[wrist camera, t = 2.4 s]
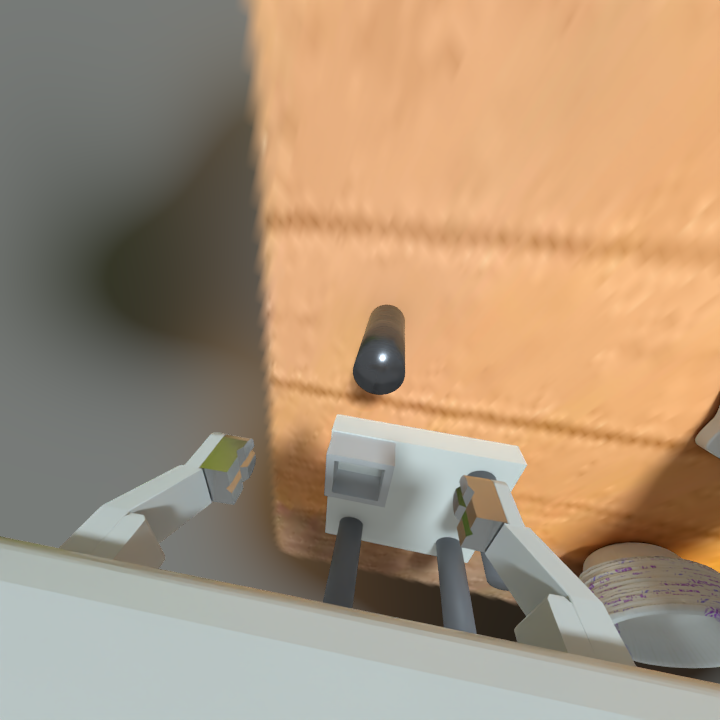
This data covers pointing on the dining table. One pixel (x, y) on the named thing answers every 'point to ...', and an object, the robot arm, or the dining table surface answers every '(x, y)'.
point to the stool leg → (382, 352)
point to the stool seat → (407, 502)
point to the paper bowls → (658, 603)
